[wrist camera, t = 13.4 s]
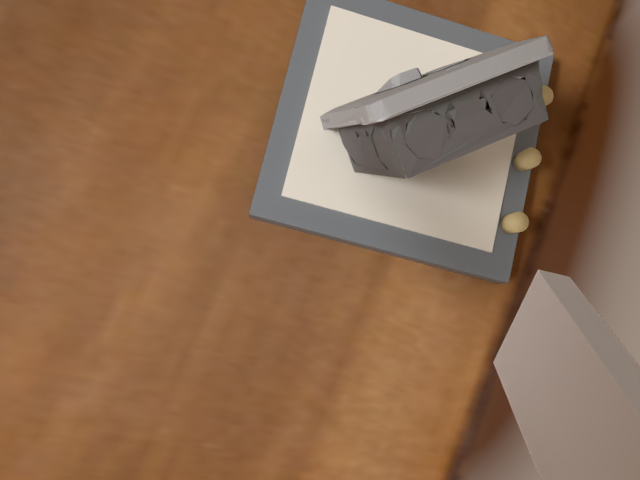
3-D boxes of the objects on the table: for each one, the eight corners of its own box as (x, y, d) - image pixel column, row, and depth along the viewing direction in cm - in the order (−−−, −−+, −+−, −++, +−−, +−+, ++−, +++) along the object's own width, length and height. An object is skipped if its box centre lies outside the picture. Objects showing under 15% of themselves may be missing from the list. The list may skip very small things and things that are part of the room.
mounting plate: (310, -10, 33) (315, -36, 30) (542, 63, 35) (565, 45, 32) (248, 217, 31) (248, 210, 28) (497, 283, 33) (518, 282, 30)
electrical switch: (453, 65, 32) (542, -6, 23) (484, 144, 32) (584, 105, 23) (314, 118, 31) (351, 65, 21) (348, 200, 31) (398, 182, 22)
